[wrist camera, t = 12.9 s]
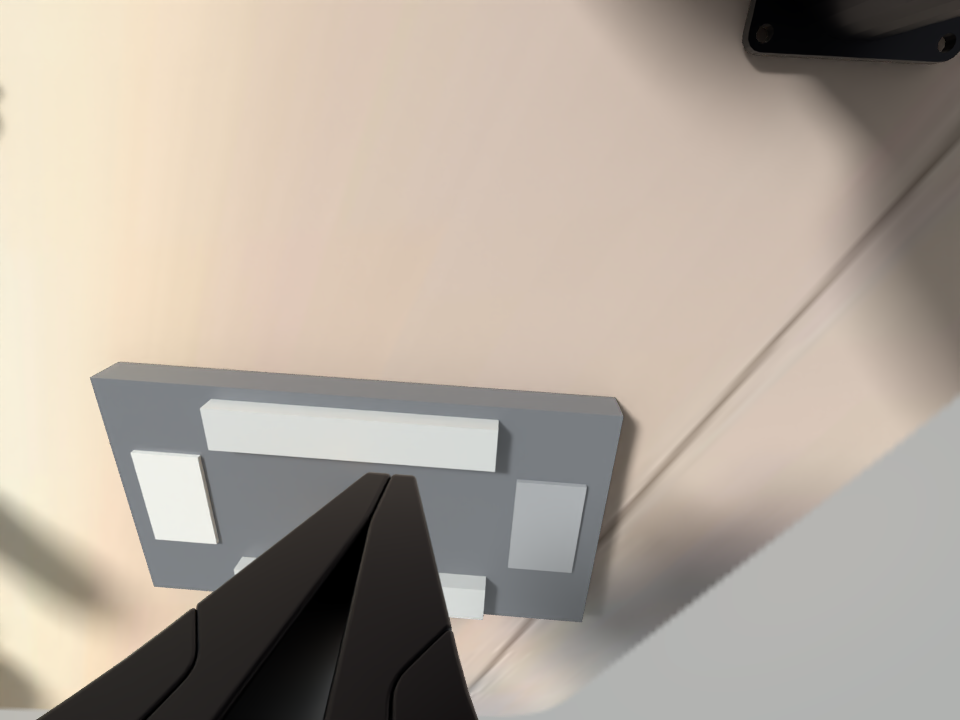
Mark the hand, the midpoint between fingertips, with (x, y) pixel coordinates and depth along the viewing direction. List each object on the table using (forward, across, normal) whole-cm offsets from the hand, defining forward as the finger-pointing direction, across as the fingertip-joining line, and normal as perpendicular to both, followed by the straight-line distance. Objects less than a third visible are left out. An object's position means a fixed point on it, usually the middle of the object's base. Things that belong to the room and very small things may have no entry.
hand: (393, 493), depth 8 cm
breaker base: (+12, +4, +10) cm, 16 cm away
